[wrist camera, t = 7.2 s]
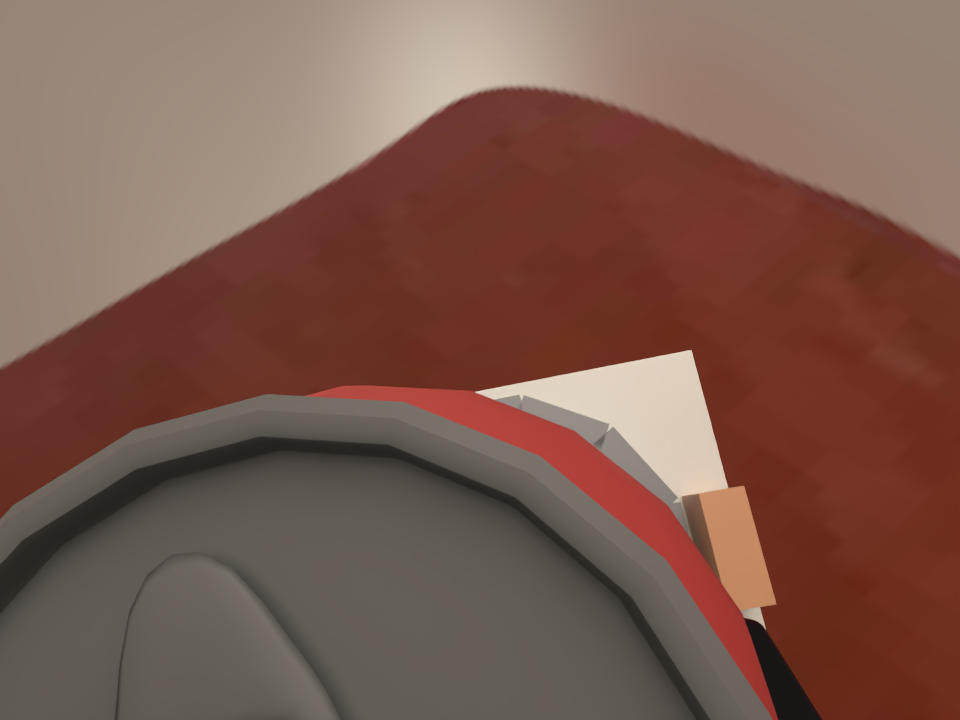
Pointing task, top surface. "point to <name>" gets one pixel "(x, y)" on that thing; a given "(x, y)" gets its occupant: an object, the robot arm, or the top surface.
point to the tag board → (661, 455)
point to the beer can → (363, 574)
